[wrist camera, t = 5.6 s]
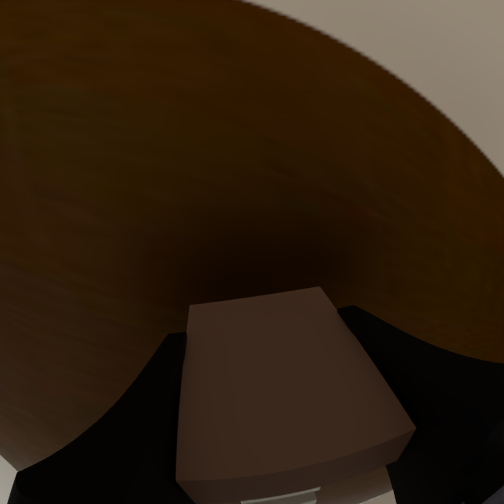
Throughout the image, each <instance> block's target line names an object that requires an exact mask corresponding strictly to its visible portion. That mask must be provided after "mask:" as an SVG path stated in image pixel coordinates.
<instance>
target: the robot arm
mask: <svg viewBox="0 0 504 504" xmlns="http://www.w3.org/2000/svg"><path fill="white" fill-rule="evenodd" d="M337 313H338V314H339V316H340V317H341V318H342V320H343V321H344V323H345V324H346V326H347V327H348V328H349V330H350V331H351V332H352V333H353V334H354V336H355V337H356V338H357V340H358V341H359V342H360V344H361V345H362V347H363V348H364V350H365V351H366V353H367V354H368V356H369V357H370V358H371V360H372V361H373V363H374V364H375V366H376V367H377V369H378V370H379V372H380V373H381V375H382V376H383V378H384V379H385V381H386V382H387V384H388V385H389V387H390V388H391V390H392V391H393V393H394V394H395V396H396V397H397V399H398V400H399V402H400V403H401V405H402V407H403V408H404V410H405V411H406V413H407V414H408V416H409V417H410V419H411V420H412V422H413V424H414V425H415V427H416V430H415V432H414V433H413V435H412V437H411V439H410V440H409V442H408V444H407V445H406V447H405V449H404V450H403V452H402V453H401V455H400V457H399V458H398V460H397V461H395V462H392V463H390V464H387V465H386V468H387V471H388V474H389V477H390V481H391V484H392V488H393V491H394V495H395V499H396V503H397V504H504V364H502V363H495V362H489V361H483V360H479V359H475V358H471V357H467V356H463V355H460V354H456V353H453V352H450V351H448V350H445V349H442V348H439V347H436V346H434V345H431V344H429V343H427V342H425V341H422V340H420V339H418V338H416V337H414V336H411V335H409V334H407V333H405V332H403V331H401V330H399V329H398V328H396V327H394V326H392V325H390V324H388V323H386V322H384V321H383V320H381V319H379V318H377V317H375V316H374V315H372V314H370V313H368V312H366V311H364V310H362V309H361V308H359V307H356V306H354V305H352V306H348V307H343V308H338V309H337ZM186 342H187V333H186V332H182V333H171V334H168V335H167V336H166V337H165V339H164V340H163V342H162V343H161V345H160V346H159V347H158V349H157V350H156V352H155V353H154V355H153V356H152V358H151V359H150V360H149V362H148V363H147V365H146V366H145V367H144V369H143V370H142V371H141V373H140V374H139V376H138V377H137V378H136V379H135V381H134V382H133V383H132V384H131V386H130V387H129V388H128V389H127V390H126V392H125V393H124V394H123V395H122V397H121V398H120V399H119V400H118V401H117V402H116V403H115V404H114V405H113V406H112V407H111V408H110V409H109V410H108V411H107V412H106V413H105V414H104V415H103V416H102V417H101V418H100V419H99V420H98V421H97V422H96V423H94V424H93V425H92V426H91V427H90V428H88V429H87V430H86V431H85V432H84V433H82V434H81V435H80V436H79V437H78V438H76V439H75V440H74V441H72V442H71V443H69V444H68V445H66V446H65V447H64V448H62V449H60V450H59V451H57V452H56V453H54V454H53V455H51V456H49V457H47V458H46V459H44V460H42V461H40V462H38V463H36V464H34V465H32V466H30V467H28V468H26V469H24V470H22V471H19V472H17V474H16V477H15V480H14V483H13V486H12V490H11V493H10V497H9V500H8V503H7V504H196V503H195V502H194V501H193V500H192V499H191V498H190V497H189V496H188V495H187V493H186V492H185V491H184V490H183V489H182V488H181V487H180V485H179V484H178V483H177V482H176V454H177V435H178V419H179V405H180V392H181V381H182V370H183V363H184V359H185V352H186Z"/></svg>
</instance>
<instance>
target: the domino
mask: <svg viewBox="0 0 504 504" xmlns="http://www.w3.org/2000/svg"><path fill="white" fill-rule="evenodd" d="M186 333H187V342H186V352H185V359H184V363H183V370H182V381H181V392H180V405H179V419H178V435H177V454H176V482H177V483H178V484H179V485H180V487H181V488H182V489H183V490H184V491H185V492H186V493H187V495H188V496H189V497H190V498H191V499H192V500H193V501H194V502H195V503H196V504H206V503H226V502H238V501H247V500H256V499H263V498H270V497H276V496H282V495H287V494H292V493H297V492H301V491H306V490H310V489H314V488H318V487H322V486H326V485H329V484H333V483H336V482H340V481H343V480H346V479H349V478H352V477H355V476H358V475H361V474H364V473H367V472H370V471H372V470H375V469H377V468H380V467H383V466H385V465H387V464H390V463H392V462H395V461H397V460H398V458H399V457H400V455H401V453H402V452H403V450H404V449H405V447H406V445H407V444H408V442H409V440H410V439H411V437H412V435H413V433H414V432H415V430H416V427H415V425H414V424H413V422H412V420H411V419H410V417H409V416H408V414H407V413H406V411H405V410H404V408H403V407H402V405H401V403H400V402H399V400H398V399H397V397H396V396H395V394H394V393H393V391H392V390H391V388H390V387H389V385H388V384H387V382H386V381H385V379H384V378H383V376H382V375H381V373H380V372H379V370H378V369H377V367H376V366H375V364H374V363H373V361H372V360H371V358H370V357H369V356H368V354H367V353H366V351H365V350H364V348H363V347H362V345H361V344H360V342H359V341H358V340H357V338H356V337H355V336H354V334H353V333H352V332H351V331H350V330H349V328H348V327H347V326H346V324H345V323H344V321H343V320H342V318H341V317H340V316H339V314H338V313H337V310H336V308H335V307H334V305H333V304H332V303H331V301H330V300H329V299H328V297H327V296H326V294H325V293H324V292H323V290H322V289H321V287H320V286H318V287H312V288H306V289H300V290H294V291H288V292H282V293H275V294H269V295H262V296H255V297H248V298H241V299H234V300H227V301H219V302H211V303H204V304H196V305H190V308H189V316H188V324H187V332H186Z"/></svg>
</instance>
